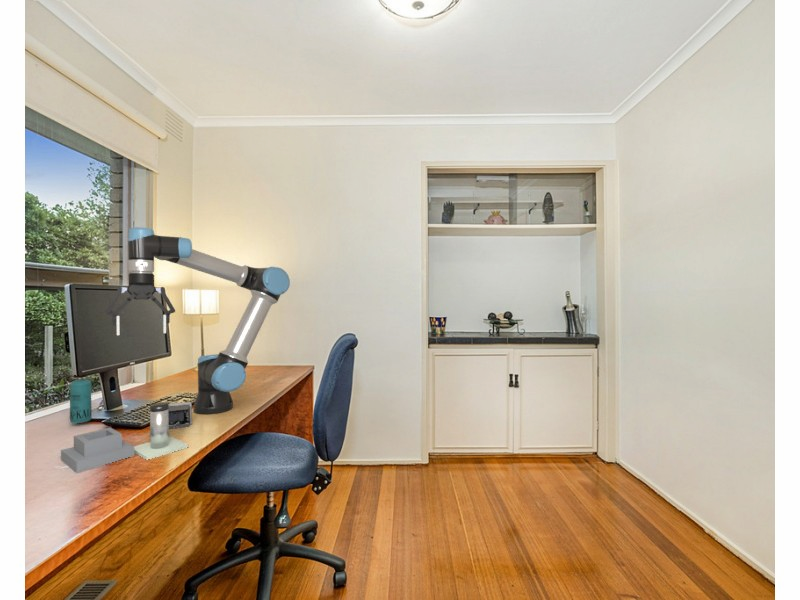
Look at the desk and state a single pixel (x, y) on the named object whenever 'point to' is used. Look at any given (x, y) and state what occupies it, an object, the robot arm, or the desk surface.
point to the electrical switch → (180, 415)
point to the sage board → (150, 453)
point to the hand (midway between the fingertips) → (142, 334)
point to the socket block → (96, 450)
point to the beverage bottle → (80, 400)
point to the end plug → (159, 425)
